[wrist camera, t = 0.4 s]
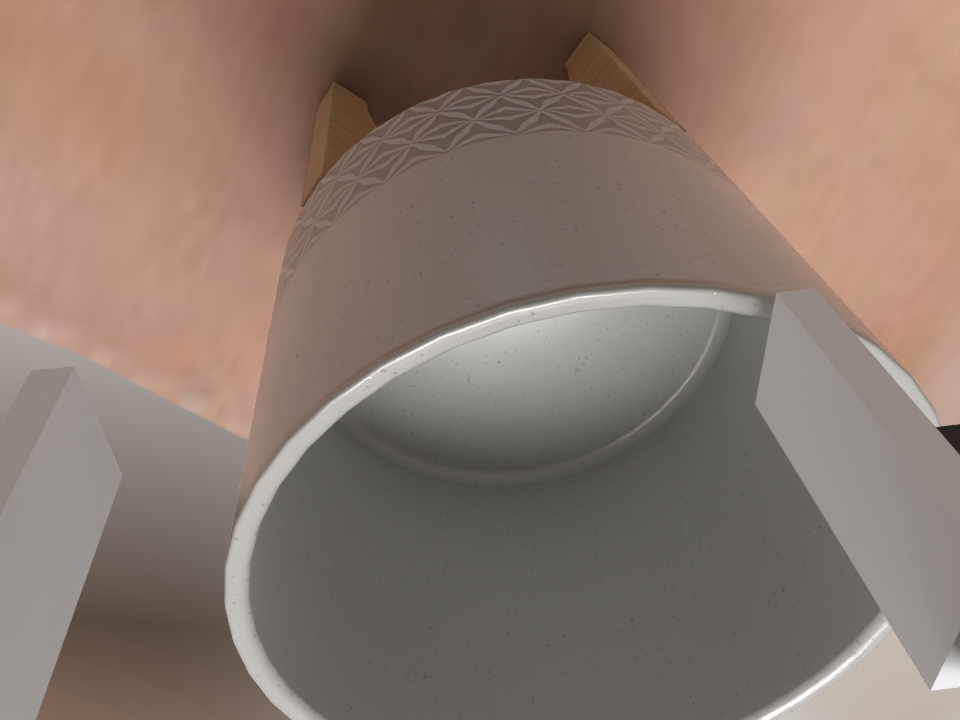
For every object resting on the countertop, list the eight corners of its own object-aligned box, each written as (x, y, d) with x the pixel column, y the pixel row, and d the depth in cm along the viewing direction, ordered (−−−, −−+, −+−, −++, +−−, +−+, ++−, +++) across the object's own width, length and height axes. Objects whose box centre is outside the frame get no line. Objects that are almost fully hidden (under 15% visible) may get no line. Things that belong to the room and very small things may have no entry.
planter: (516, 392, 50) (622, 832, 29) (234, 244, 42) (97, 695, 21) (734, 147, 42) (1096, 504, 21) (436, -90, 35) (538, 98, 13)
